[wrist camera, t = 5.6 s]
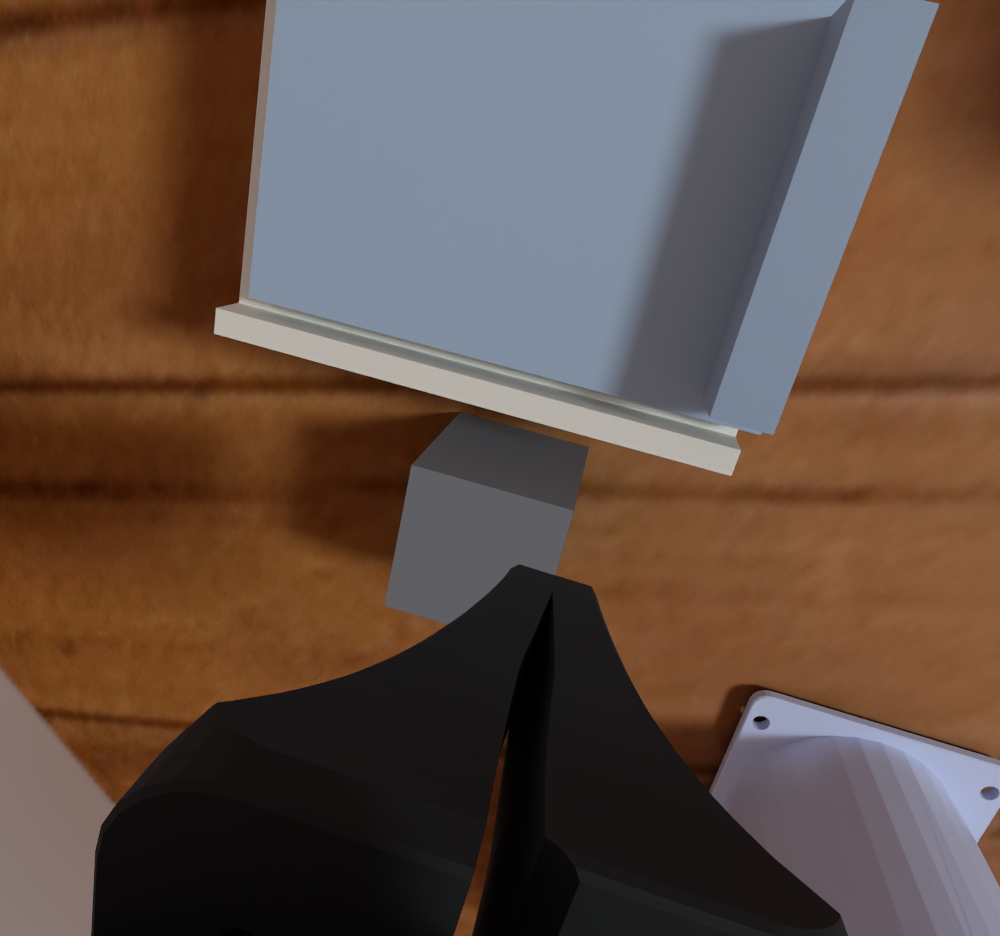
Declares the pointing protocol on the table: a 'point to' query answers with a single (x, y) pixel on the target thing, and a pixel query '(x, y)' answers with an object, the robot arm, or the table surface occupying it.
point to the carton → (458, 359)
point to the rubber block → (481, 514)
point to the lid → (581, 181)
